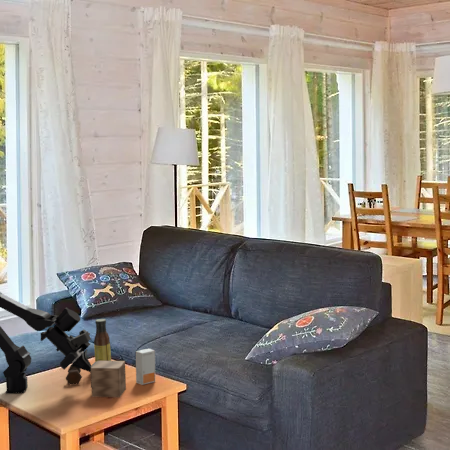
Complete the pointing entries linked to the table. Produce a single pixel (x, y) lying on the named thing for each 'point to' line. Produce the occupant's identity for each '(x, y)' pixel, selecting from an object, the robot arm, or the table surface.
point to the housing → (108, 378)
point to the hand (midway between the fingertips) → (92, 371)
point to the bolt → (73, 375)
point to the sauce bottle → (102, 342)
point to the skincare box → (145, 366)
